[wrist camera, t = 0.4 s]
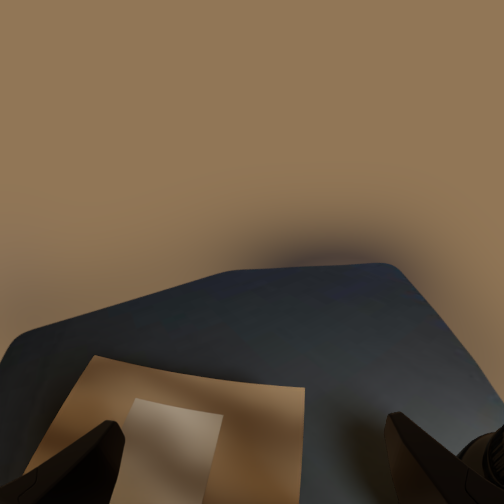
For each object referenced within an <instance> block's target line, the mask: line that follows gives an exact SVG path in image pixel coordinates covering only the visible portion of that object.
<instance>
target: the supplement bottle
mask: <svg viewBox="0 0 504 504" xmlns="http://www.w3.org/2000/svg"><path fill="white" fill-rule="evenodd" d="M456 457H457V458H459V459H460V460H461V461H462V462H464V463H465V464H466V465H468V468H469V467H470V468H471V469H473V470H474V471H475V472H477V473H478V474H479V475H481V476H482V477H483V478H485V479H486V480H488V481H489V482H491V483H492V484H494V485H496V486H497V487H499V488H501V489H503V490H504V425H503V426H502V427H501V428H499V429H498V430H497V431H496V432H491V433H487V434H484V435H481V436H479V437H477V438H476V439H474V440H472V441H471V442H470V443H469V444H468V445H467V446H466V447H465V448H463V449H462V451H461V452H460V453H459V454H458V455H457V456H456Z"/></svg>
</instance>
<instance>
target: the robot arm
mask: <svg viewBox="0 0 504 504" xmlns="http://www.w3.org/2000/svg"><path fill="white" fill-rule="evenodd" d="M384 437H385V442H386V448H387V453H388V459H389V465H390V471H391V476H392V479H393V483H394V486H395V489H396V493H397V496H398V500H399V503H400V504H504V490H503V489H501V488H499V487H497V486H496V485H494V484H492V483H491V482H489V481H488V480H486V479H485V478H483V477H482V476H481V475H479V474H478V473H477V472H475V471H474V470H473V469H471V468H470V467H469V468H468V465H466V464H465V463H464V462H462V461H461V460H460V459H459V458H457V457H456V456H455V455H454V454H452V453H451V452H450V451H449V450H447V449H446V448H445V447H444V446H442V445H441V444H440V443H439V442H437V441H436V440H435V439H434V438H432V437H431V436H430V435H429V434H428V433H426V432H425V431H424V430H423V429H421V428H420V427H419V426H418V425H416V424H415V423H414V422H413V421H412V420H410V419H409V418H408V417H407V416H405V415H404V414H403V413H402V412H394V413H390V414H388V416H387V420H386V425H385V429H384ZM124 446H125V436H124V434H123V432H122V430H121V428H120V426H119V424H118V423H117V422H116V421H112V420H105V421H103V422H102V423H101V424H99V425H98V426H96V427H95V428H93V429H92V430H91V431H89V432H88V433H86V434H85V435H83V436H82V437H80V438H79V439H78V440H76V441H75V442H73V443H72V444H70V445H69V446H67V447H66V448H64V449H63V450H61V451H60V452H58V453H57V454H55V455H54V456H52V457H51V458H49V459H48V460H46V461H45V462H43V463H42V464H40V465H39V466H38V467H36V468H34V469H33V470H31V471H29V472H28V473H26V474H24V475H23V476H21V477H19V478H17V479H16V480H14V481H12V482H10V483H8V484H6V485H4V486H1V487H0V504H109V503H110V500H111V497H112V494H113V491H114V488H115V485H116V481H117V478H118V475H119V470H120V465H121V460H122V455H123V450H124Z"/></svg>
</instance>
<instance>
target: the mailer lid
mask: <svg viewBox="0 0 504 504" xmlns="http://www.w3.org/2000/svg"><path fill="white" fill-rule="evenodd" d="M304 398H305V388H298V387H284V386H272V385H261V384H251V383H242V382H234V381H226V380H218V379H211V378H204V377H198V376H192V375H186V374H180V373H174V372H169V371H163V370H158V369H153V368H148V367H143V366H138V365H134V364H129V363H125V362H120V361H116V360H112V359H108V358H104V357H100V356H96V355H94V357H93V358H92V360H91V361H90V363H89V364H88V366H87V367H86V369H85V370H84V372H83V373H82V375H81V377H80V378H79V380H78V381H77V383H76V384H75V386H74V388H73V389H72V391H71V392H70V394H69V396H68V397H67V399H66V401H65V402H64V404H63V405H62V407H61V409H60V410H59V412H58V414H57V415H56V417H55V419H54V420H53V422H52V424H51V426H50V427H49V429H48V431H47V432H46V434H45V436H44V438H43V439H42V441H41V443H40V445H39V446H38V448H37V450H36V452H35V454H34V455H33V457H32V459H31V461H30V463H29V464H28V466H27V468H26V470H25V472H24V474H26V473H28V472H29V471H31V470H33V469H34V468H36V467H38V466H39V465H40V464H42V463H43V462H45V461H46V460H48V459H49V458H51V457H52V456H54V455H55V454H57V453H58V452H60V451H61V450H63V449H64V448H66V447H67V446H69V445H70V444H72V443H73V442H75V441H76V440H78V439H79V438H80V437H82V436H83V435H85V434H86V433H88V432H89V431H91V430H92V429H93V428H95V427H96V426H98V425H99V424H101V423H102V422H103V421H105V420H112V421H116V422H117V423H118V424H119V426H120V428H121V430H122V432H123V434H124V436H125V446H124V450H123V455H122V460H121V465H120V470H119V475H118V478H117V481H116V485H115V488H114V491H113V494H112V497H111V500H110V503H109V504H299V494H300V480H301V464H302V447H303V425H304ZM24 474H23V475H24Z"/></svg>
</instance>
